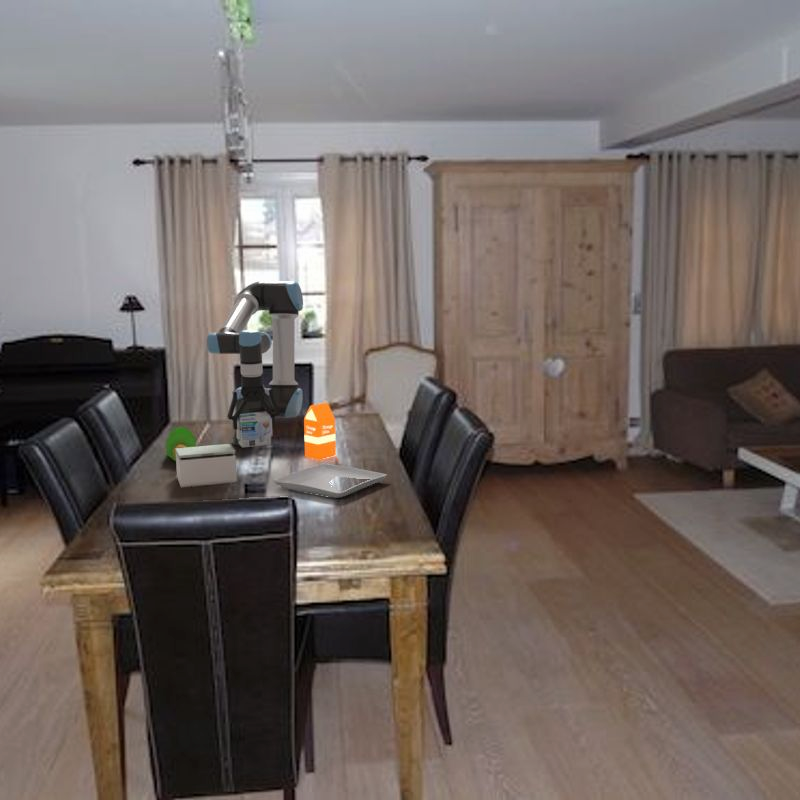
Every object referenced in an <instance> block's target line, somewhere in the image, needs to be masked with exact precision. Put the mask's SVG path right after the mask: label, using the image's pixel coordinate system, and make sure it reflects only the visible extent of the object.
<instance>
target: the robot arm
mask: <svg viewBox="0 0 800 800" xmlns="http://www.w3.org/2000/svg"><path fill="white" fill-rule="evenodd" d="M233 304H234V306H233V307H232V309H231V310H230V312H229V313H228V316H227V317H226V318H225V320H224V322H223V323H222V325H221V327H220V329H219V331H218V332H217V331H214V332H210V333H208V335H207V337H206V349H207V351H208V352H209V353H210V354H218V355H235V354H236V355H237V354H238V355H239V361H240V362H239V363H240V374H241V377H240V383H241V386H240V387H238V388H236V389H235V390H233V391H232V392H231V393H232V398H231V401H230V406H229V409H228V412H227V418H228V420H230V421H232V427H233V434H232V437H231V441H232V442H231V443H232V445H235V446H238V447H241V445H240V444H239V441H238V439H240V425H239V420H238V417H239V416H240V414H246V413H256V412H267V413H268V414H269V415H270V428H271V437H273V427H275V425H276V418H285V419H287V418H296V417H298V416H299V414H300V412H301V409H302V407H303V406H302V405H303V398H304V395H303V392H304V391H303V389H302V388H299V383H298V381H296V380H295V343H296V341H295V333H296V332H295V328H296V327H295V320H296V319H297V317H298V316H299V312H300V311H303V308H304V299H303V292H302V289H301V285H300V284H299V283H298V282H296V281H289V280H259V281H256V282H253V283H251V284H249V285H247V286H246V287H244V288H243V289H242V290H240V292H239V293H237V295H236V297H235V299H234V303H233ZM259 311H267V312H268V316H269V317H270V318H271V319H272V338H271V336H270V334H268V333H267V332H265V331H260V330H258V329H245V328H246V327H247V325H248V323H249V321H250V320H251V317H252V316H253V315H255V314H256V313H257V312H259ZM271 347H272V380H270V382H269V383H268V387H267V388H266V387H265V385H264V376H263V373H264V371H263V354H264V353H267V352H268V351H269V349H271ZM234 411H235V412H234Z"/></svg>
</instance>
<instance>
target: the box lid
mask: <svg viewBox="0 0 800 800" xmlns="http://www.w3.org/2000/svg"><path fill="white" fill-rule="evenodd" d="M175 450H176V453H177V455H178V456H179V458H186V457H198V456H210V455H221V454H232V453H234V454H236V450H235V448H234V447H232V445H231V444H230V443H221V444H211V445H201V446H200V445H199V446H196V447H186V448H175Z"/></svg>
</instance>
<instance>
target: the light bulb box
mask: <svg viewBox="0 0 800 800" xmlns="http://www.w3.org/2000/svg"><path fill="white" fill-rule="evenodd" d="M238 420H239V425H240V439H238V441H239V444H240V445H241V446H240V447H241V448H249V447H259V446H262V447H263V446H271V445H272V436H271V428H270V415H269V414H268V413H267V412H256V413H246V414H240V416H239V417H238Z"/></svg>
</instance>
